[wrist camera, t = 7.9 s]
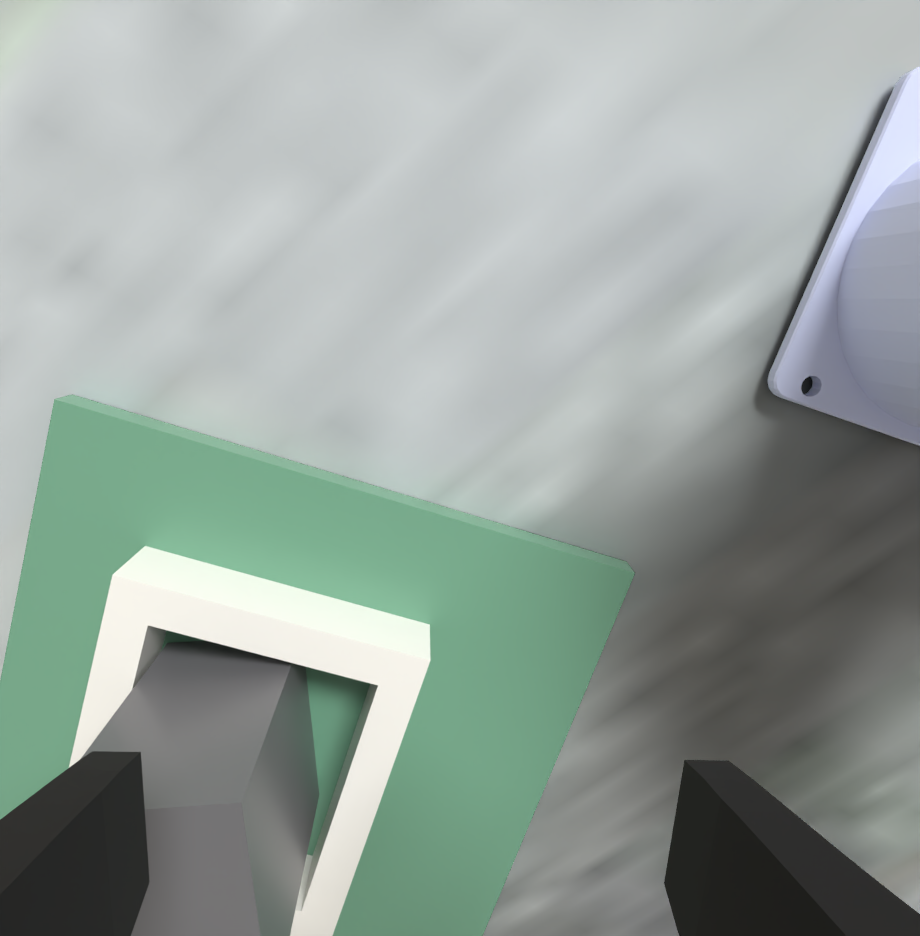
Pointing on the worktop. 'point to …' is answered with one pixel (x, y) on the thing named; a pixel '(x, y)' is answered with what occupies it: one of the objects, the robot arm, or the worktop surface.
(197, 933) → the plug
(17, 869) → the robot arm
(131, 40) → the worktop surface
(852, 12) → the worktop surface
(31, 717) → the header board
